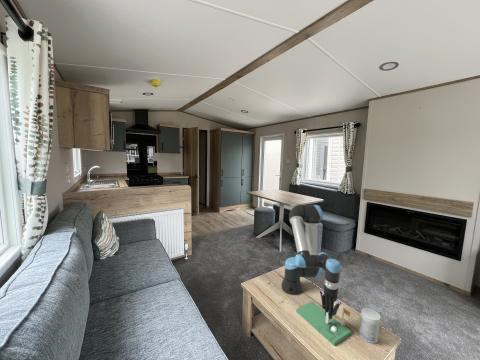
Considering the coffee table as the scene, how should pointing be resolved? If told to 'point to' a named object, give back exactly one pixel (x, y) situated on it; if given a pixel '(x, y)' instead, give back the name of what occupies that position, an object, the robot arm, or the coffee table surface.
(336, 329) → the ball
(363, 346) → the coffee table surface
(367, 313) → the supplement tub
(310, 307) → the putting strip
